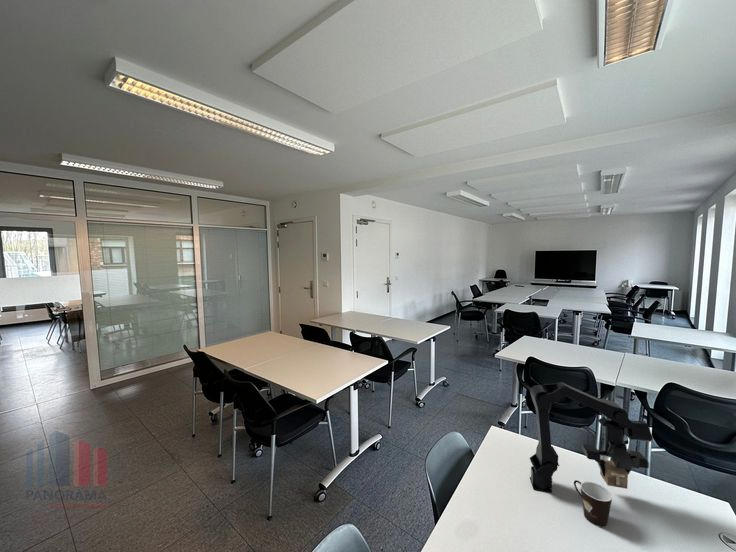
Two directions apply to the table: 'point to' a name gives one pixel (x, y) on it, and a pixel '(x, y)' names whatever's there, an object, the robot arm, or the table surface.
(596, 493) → the coffee mug
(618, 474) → the walnut letter cube
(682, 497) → the table surface
